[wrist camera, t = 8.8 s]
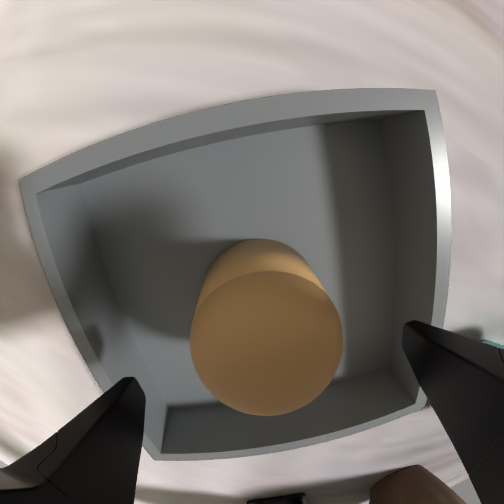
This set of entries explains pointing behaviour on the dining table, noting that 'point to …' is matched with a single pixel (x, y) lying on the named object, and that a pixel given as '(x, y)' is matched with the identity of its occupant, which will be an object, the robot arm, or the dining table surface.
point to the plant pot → (413, 489)
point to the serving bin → (245, 228)
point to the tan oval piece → (264, 330)
